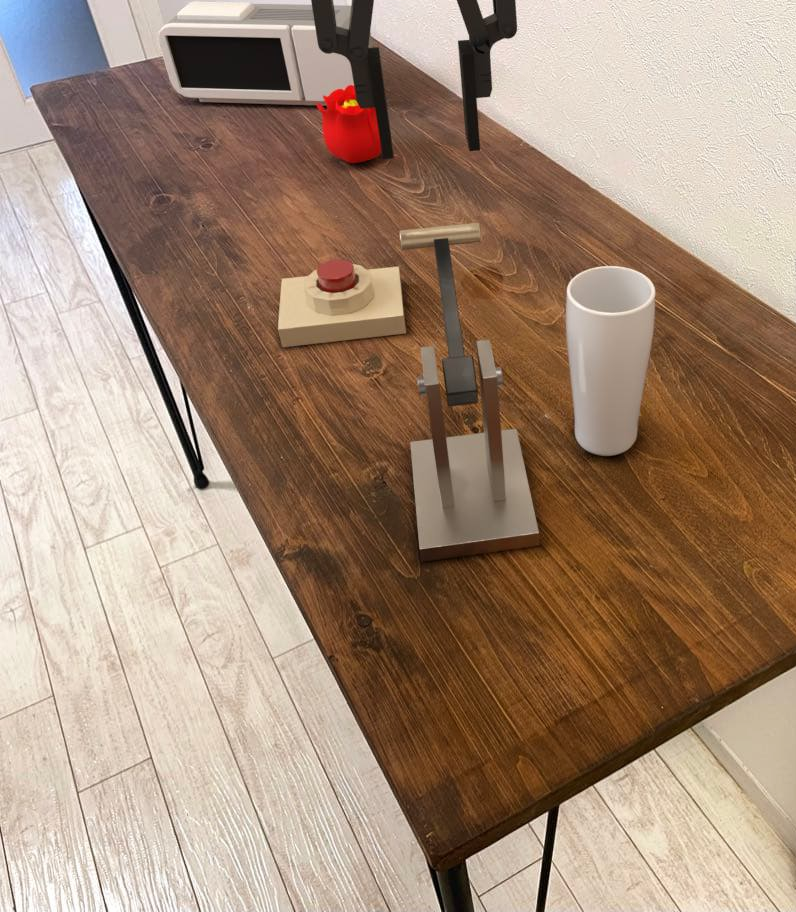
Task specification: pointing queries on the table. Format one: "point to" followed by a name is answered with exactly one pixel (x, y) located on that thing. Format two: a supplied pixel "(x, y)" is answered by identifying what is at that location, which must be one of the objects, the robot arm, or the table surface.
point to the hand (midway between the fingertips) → (430, 145)
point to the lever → (449, 305)
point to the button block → (341, 308)
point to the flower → (349, 127)
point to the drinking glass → (608, 354)
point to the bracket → (470, 475)
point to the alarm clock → (252, 54)
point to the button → (336, 276)
